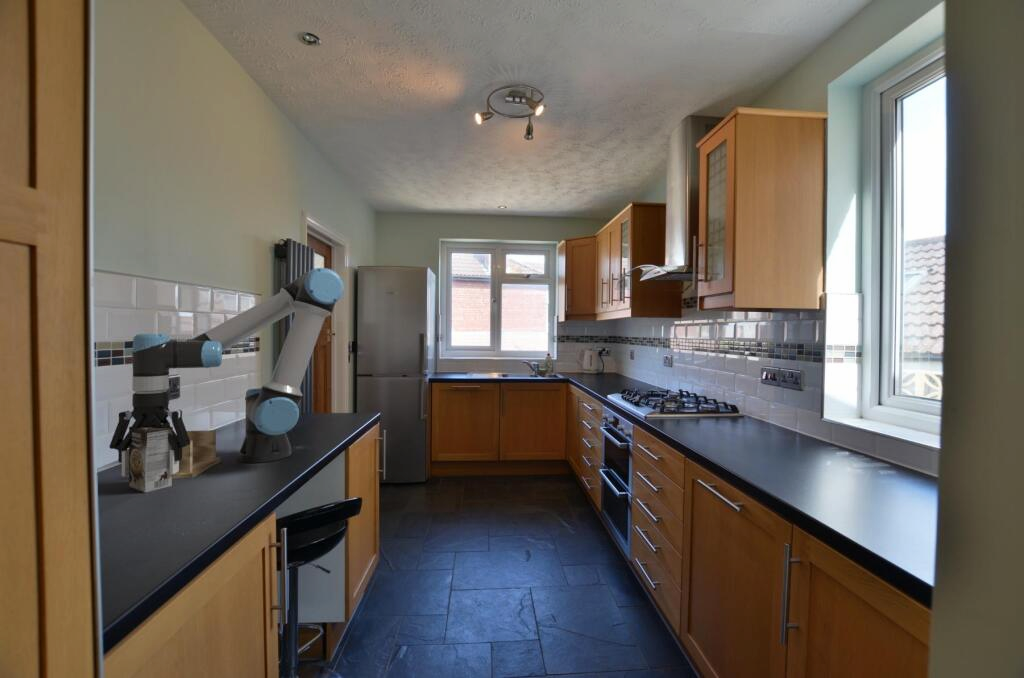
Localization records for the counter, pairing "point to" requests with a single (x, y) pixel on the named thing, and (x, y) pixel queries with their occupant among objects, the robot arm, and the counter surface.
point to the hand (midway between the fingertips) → (150, 473)
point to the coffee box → (150, 458)
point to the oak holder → (197, 454)
